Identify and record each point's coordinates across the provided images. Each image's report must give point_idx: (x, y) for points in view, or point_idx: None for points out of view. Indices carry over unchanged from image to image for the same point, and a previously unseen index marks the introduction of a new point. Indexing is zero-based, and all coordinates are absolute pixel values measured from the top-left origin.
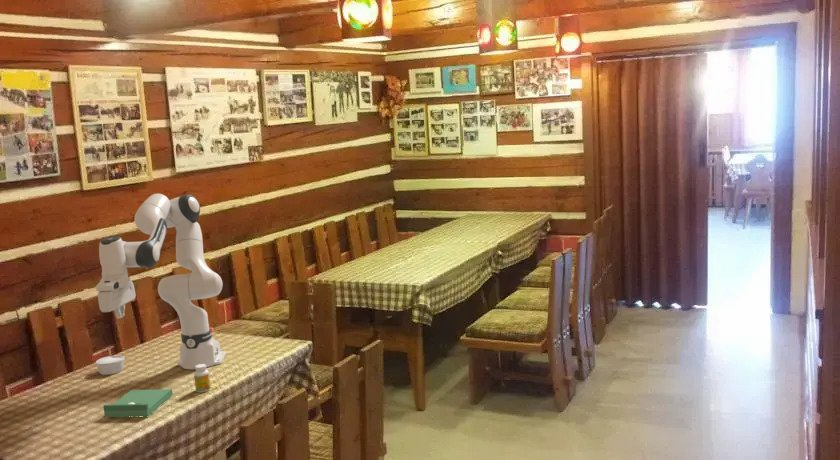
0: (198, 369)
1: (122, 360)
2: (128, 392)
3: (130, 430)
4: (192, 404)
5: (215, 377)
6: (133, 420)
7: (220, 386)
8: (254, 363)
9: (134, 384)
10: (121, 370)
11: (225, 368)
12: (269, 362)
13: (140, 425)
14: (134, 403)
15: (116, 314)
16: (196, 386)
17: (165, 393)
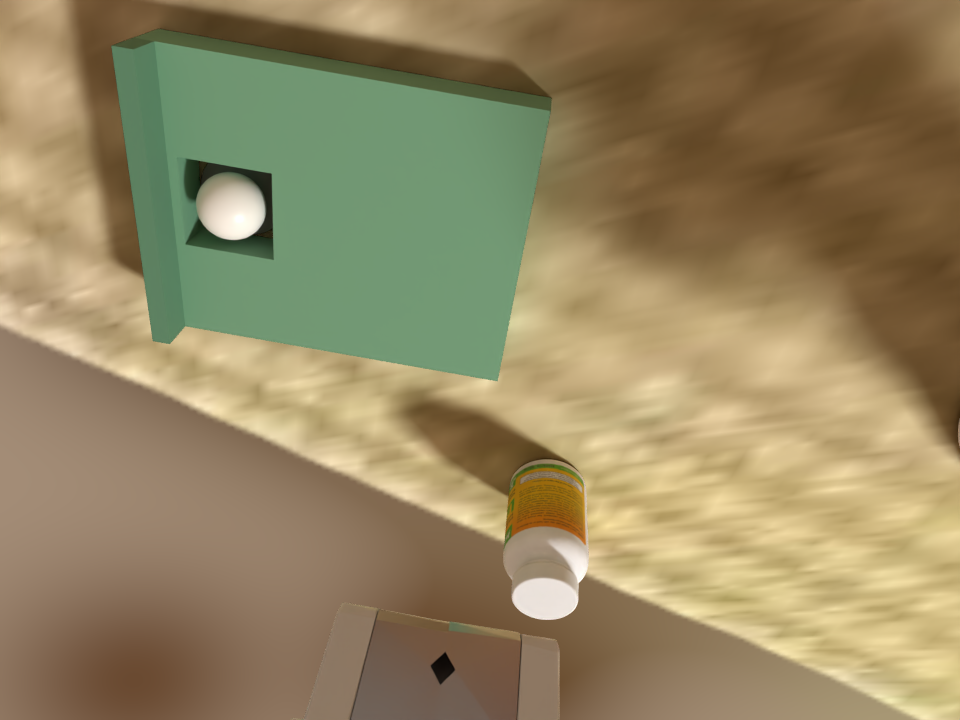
0: (512, 582)
1: None
2: (498, 103)
3: (13, 259)
4: (351, 467)
5: (739, 513)
6: None
7: None
8: (888, 642)
9: (850, 19)
10: None
11: (883, 541)
12: (863, 687)
13: (81, 292)
14: (232, 237)
15: (309, 713)
16: (518, 487)
17: (428, 361)
